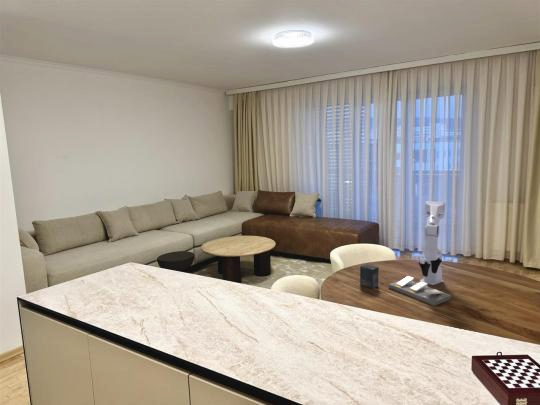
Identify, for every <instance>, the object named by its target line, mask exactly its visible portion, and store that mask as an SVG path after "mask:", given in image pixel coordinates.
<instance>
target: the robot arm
mask: <svg viewBox="0 0 540 405" xmlns="http://www.w3.org/2000/svg"><path fill="white" fill-rule="evenodd" d="M445 210H446V202H445V201H431V200H429V201H428V200H426V201H425V205H424V212H425V218H427V219H426V224H425V226H424V231H423V232H424V249H423V250H422V254H421V258H420V259H419V261H418V265H419V267H420V269H421V273H422V276H423V278H421V279H419V282H421V281H422V282H425V283H428V285H431V286H434V285H437V284H440V283H443V282H444V280H443V278H442V276H443V269H442V263H443V252H442V250H440V249H439V248H438V246H439V242H438V240H439V236H440V228H441V227H440V221H441V220H442V219H444V218H445V213H446V211H445Z"/></svg>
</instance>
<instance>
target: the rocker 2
mask: <svg viewBox="0 0 540 405" xmlns="http://www.w3.org/2000/svg"><path fill="white" fill-rule="evenodd" d="M416 283H417V284H416V285H414V286H412V287H411V288H410V290H413V291H415V292H417V291H418V290H420V289H422V288H423V287H425V286H427V287H428V285H429V284H428V283H425V282H422V281H419V282H416Z"/></svg>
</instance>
